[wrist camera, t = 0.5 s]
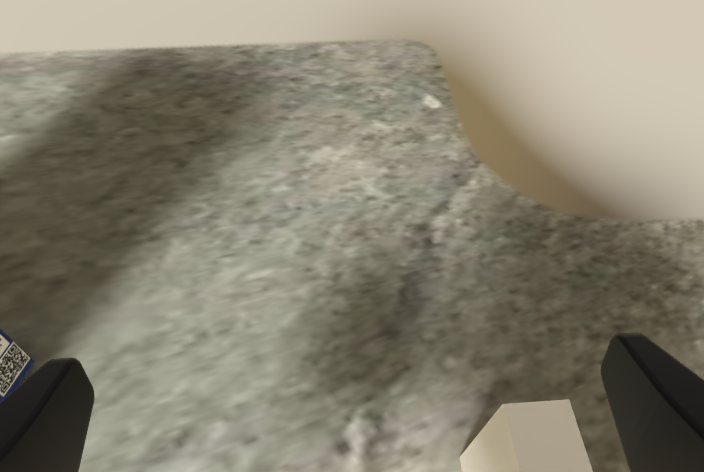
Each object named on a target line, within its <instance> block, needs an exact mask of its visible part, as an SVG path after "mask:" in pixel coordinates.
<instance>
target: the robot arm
mask: <svg viewBox="0 0 704 472" xmlns="http://www.w3.org/2000/svg"><path fill="white" fill-rule="evenodd" d="M601 376H602V380H603V384H604V387H605V391H606V394H607V397H608V401H609V404H610V407H611V411H612V414H613V417H614V421H615V424H616V427H617V431H618V434H619V437H620V441H621V444H622V447H623V451H624V454H625V457H626V460H627V463H628V466H629V468H630V471H631V472H704V380H703V379H702V378H700V377H699V376H698V375H696V374H695V373H694V372H692V371H691V370H690V369H688V368H687V367H686V366H684V365H683V364H682V363H680V362H679V361H678V360H676V359H675V358H674V357H672V356H671V355H670V354H668V353H667V352H666V351H664V350H663V349H662V348H660V347H659V346H658V345H656V344H655V343H654V342H652V341H651V340H649V339H648V338H647V337H645V336H644V335H642V334H640V333H619V334H615V335H614V336H613V337H612V339H611V341H610V344H609V346H608V349H607V352H606V354H605V357H604V360H603V362H602V366H601ZM93 403H94V390H93V386H92V384H91V382H90V381H89V379H88V377H87V375H86V373H85V371H84V369H83V367H82V365H81V363H80V361H79V360H77V359H76V358H58V359H52V360H50V361H48V362H46V363H45V364H44V365H43V366H42V367H40V368H39V369H38V370H37V371H36V372H35V373H33V374H32V375H31V376H30V377H29V378H28V379H26V380H25V381H24V382H23V383H22V384H21V385H20V386H18V387H17V388H16V389H15V390H14V391H13V392H11V393H10V394H9V395H8V396H7V397H6V398H4V399H3V400H2V401H1V402H0V472H78V471H79V467H80V462H81V458H82V453H83V449H84V444H85V440H86V435H87V431H88V426H89V422H90V417H91V412H92V408H93Z"/></svg>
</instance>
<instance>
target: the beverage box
mask: <svg viewBox="0 0 704 472" xmlns="http://www.w3.org/2000/svg"><path fill="white" fill-rule="evenodd" d="M33 363H34V361H33V360H32V359H31V358H30V357H29V356H28V355H27V354H26V353H25V352H24V351H23V350H22V349H21V348H19V347H18V346H17V345H16V344H15V343H14V342H13V341H12V340H11V339H10V338H9V337H8V336H7V335H6V334H5V333H4V332H3V331H2V330H1V329H0V402H1V401H2V400H3V399H4V398H6V397H7V396H8V395H9V394H10V393H11V392H13V391H14V390H15V389H16V388H17V386H18V385H19V383H20V382H21V380H22V379H23V377H24V376H25V375H26V373H27V372H28V370H29V369H30V367H31V366H32V364H33Z"/></svg>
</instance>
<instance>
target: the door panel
mask: <svg viewBox="0 0 704 472" xmlns="http://www.w3.org/2000/svg"><path fill="white" fill-rule="evenodd" d="M460 462H461V468H462V472H593V470H592V467H591V464H590V461H589V458H588V455H587V452H586V449H585V446H584V443H583V440H582V437H581V434H580V431H579V428H578V425H577V422H576V419H575V416H574V413H573V410H572V407H571V404H570V401H569V399H567V400H553V401H539V402H524V403H510V404H502V405H501V406H500V408H499V409H498V410H497V411H496V413H495V414H494V415H493V416H492V418H491V419H490V420H489V421H488V423H487V424H486V425H485V426H484V428H483V429H482V430H481V431H480V433H479V434H478V435H477V436H476V437H475V439H474V440H473V441H472V442H471V444H470V445H469V446H468V447H467V449H466V450H465V451H464V452H463V454H462V455H461V456H460Z"/></svg>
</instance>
